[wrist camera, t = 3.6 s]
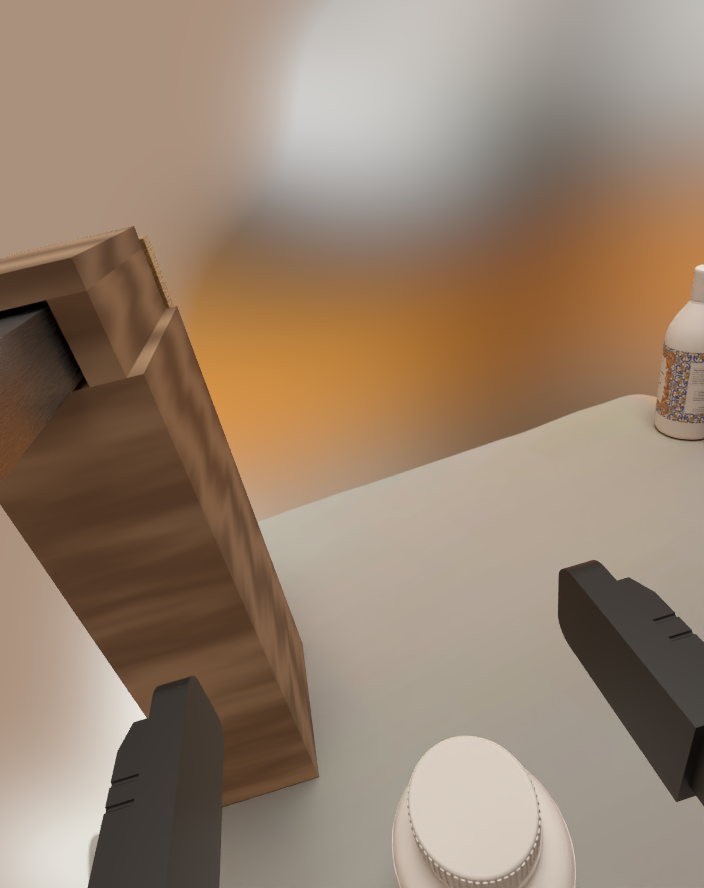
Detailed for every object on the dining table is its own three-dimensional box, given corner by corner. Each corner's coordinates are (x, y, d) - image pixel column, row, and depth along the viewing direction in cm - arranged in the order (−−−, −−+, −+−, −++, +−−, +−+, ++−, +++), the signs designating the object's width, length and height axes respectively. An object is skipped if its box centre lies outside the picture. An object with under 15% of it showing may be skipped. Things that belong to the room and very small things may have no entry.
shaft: (-23, 513, 13) (-100, 406, 11) (-147, 545, 12) (-242, 442, 11) (150, 291, 36) (133, 247, 34) (108, 301, 36) (89, 257, 34)
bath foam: (655, 412, 68) (674, 260, 58) (718, 416, 65) (749, 255, 55) (651, 438, 63) (671, 277, 53) (719, 444, 60) (754, 273, 50)
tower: (318, 776, 37) (90, 253, 18) (210, 810, 36) (-136, 305, 18) (302, 643, 47) (146, 223, 29) (218, 667, 46) (4, 256, 28)
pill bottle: (439, 1054, 25) (392, 947, 17) (408, 857, 32) (365, 719, 24) (599, 1023, 24) (622, 901, 17) (532, 831, 31) (529, 686, 24)
